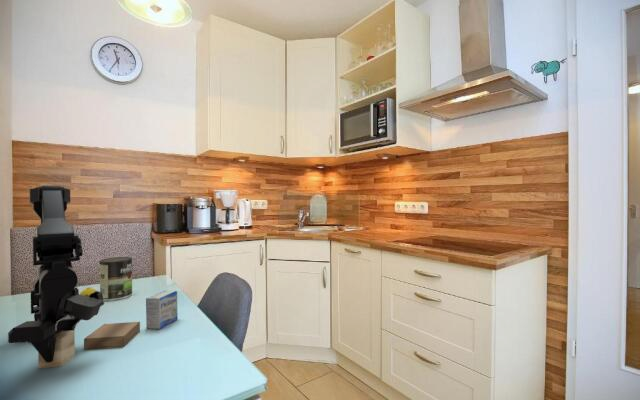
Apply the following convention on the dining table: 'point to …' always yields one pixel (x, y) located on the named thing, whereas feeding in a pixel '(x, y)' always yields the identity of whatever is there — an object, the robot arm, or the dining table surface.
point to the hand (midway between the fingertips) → (57, 356)
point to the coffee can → (116, 278)
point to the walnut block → (112, 335)
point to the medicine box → (161, 309)
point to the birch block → (60, 350)
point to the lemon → (87, 291)
